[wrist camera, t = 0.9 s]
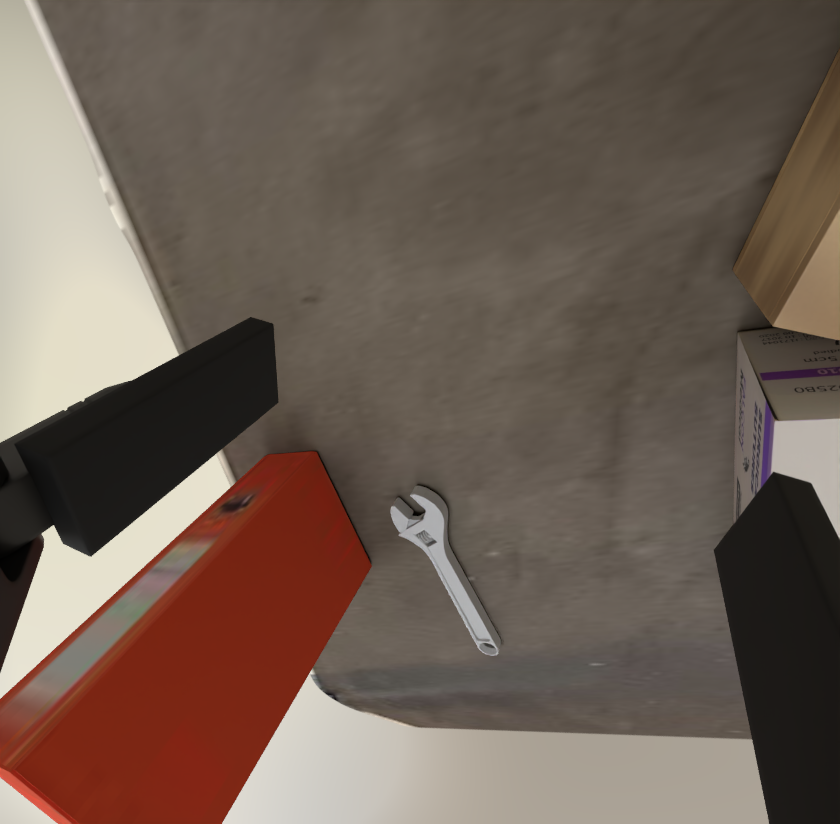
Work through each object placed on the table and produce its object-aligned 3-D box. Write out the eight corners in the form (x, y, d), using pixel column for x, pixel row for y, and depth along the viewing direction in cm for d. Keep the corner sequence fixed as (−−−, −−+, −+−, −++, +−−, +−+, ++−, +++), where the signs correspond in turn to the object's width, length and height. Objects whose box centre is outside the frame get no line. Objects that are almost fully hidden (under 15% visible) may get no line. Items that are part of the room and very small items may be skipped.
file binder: (322, 561, 62) (110, 868, 36) (264, 454, 55) (-48, 742, 29) (372, 564, 58) (176, 908, 33) (317, 450, 51) (14, 774, 26)
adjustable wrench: (505, 645, 57) (502, 658, 56) (457, 640, 60) (453, 652, 59) (439, 485, 47) (433, 496, 46) (386, 488, 50) (379, 499, 49)
